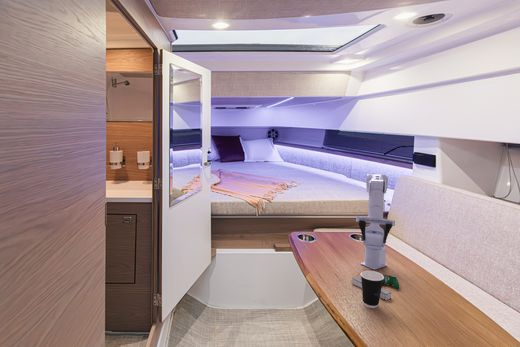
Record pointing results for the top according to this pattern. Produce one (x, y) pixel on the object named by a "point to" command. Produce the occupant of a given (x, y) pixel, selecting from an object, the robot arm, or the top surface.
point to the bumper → (384, 293)
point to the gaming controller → (391, 281)
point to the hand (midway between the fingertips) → (374, 241)
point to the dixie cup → (371, 288)
